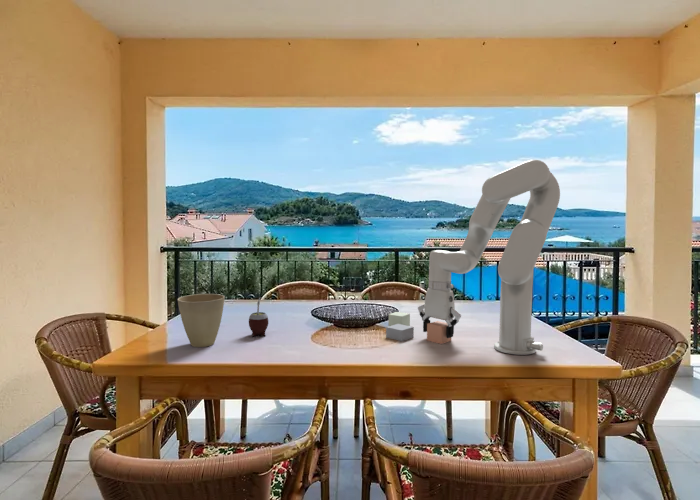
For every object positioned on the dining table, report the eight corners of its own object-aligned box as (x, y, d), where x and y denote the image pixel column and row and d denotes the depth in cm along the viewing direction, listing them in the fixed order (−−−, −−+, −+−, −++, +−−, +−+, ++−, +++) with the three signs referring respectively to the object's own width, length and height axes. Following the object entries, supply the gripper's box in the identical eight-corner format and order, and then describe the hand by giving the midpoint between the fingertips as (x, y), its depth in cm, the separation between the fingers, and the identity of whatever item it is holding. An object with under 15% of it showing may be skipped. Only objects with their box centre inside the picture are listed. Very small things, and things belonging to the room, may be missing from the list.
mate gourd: (258, 331, 161) (257, 292, 160) (274, 334, 157) (274, 294, 156) (243, 336, 154) (243, 295, 154) (260, 339, 150) (259, 297, 149)
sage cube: (409, 328, 166) (409, 313, 166) (401, 332, 162) (402, 316, 161) (396, 326, 170) (396, 311, 170) (388, 329, 165) (388, 314, 165)
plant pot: (179, 340, 149) (178, 295, 148) (223, 336, 154) (222, 292, 153) (178, 353, 135) (176, 302, 134) (227, 348, 140) (226, 299, 139)
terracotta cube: (451, 340, 150) (451, 324, 149) (441, 344, 146) (441, 326, 145) (437, 337, 154) (437, 321, 154) (426, 340, 150) (427, 323, 150)
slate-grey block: (413, 337, 154) (413, 327, 154) (401, 341, 149) (401, 330, 149) (397, 334, 159) (398, 323, 159) (386, 338, 154) (386, 327, 153)
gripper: (467, 288, 145) (465, 337, 146) (425, 281, 158) (424, 327, 159) (454, 290, 140) (452, 341, 141) (413, 283, 152) (411, 331, 154)
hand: (437, 334), depth 150 cm, fingers open, 9 cm apart
